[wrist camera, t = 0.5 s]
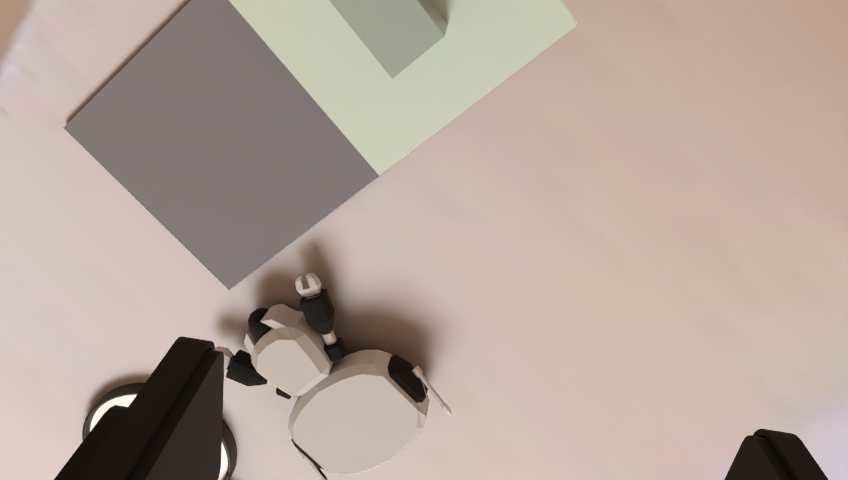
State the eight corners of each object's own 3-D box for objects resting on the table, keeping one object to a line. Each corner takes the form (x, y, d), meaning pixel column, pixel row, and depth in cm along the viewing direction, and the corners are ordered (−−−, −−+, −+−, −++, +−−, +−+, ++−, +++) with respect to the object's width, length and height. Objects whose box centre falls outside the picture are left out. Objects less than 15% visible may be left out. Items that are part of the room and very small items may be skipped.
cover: (413, -219, 28) (401, -249, 24) (575, 22, 32) (593, 37, 28) (215, -22, 32) (172, -15, 28) (380, 172, 36) (367, 206, 32)
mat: (222, -30, 37) (220, -30, 37) (389, 166, 41) (388, 168, 41) (67, 126, 42) (63, 127, 41) (231, 287, 46) (229, 289, 46)
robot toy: (214, 339, 50) (349, 463, 53) (187, 372, 45) (335, 505, 48) (322, 245, 45) (461, 386, 48) (303, 272, 41) (456, 425, 44)
